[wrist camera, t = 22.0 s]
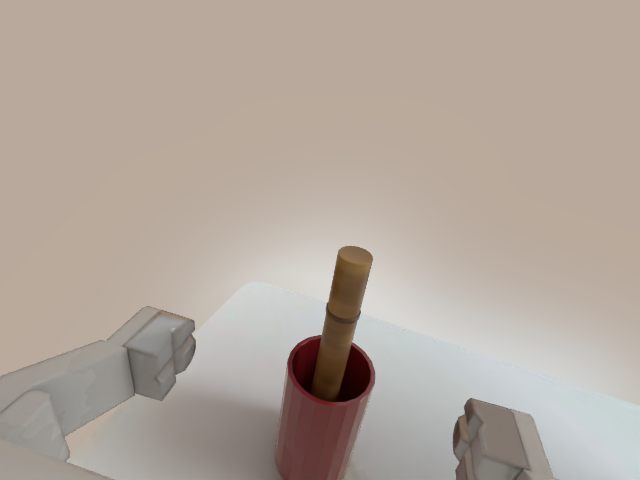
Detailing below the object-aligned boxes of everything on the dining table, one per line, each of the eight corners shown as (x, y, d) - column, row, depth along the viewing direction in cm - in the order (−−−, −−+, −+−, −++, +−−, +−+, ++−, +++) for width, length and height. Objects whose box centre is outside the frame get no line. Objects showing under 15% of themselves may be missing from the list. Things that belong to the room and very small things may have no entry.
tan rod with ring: (312, 433, 33) (353, 241, 23) (329, 453, 32) (382, 257, 22) (293, 449, 32) (329, 250, 22) (310, 470, 30) (357, 269, 20)
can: (313, 408, 36) (331, 324, 31) (362, 459, 32) (392, 374, 27) (260, 448, 32) (269, 359, 26) (309, 514, 28) (331, 425, 23)
